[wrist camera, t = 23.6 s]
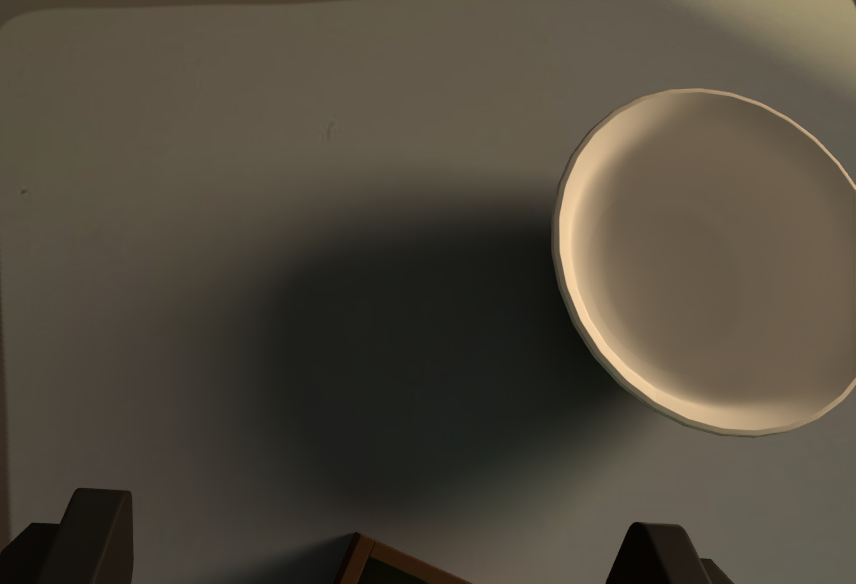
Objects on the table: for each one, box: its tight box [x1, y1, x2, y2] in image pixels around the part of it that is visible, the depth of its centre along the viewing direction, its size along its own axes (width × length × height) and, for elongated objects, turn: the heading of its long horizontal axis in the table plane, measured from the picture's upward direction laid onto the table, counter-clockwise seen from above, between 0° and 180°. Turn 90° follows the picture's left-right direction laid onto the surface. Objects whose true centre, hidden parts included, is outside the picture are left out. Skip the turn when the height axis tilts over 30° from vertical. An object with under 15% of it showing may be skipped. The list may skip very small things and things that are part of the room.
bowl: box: [551, 88, 856, 438], centre depth 43 cm, size 20×20×6 cm
